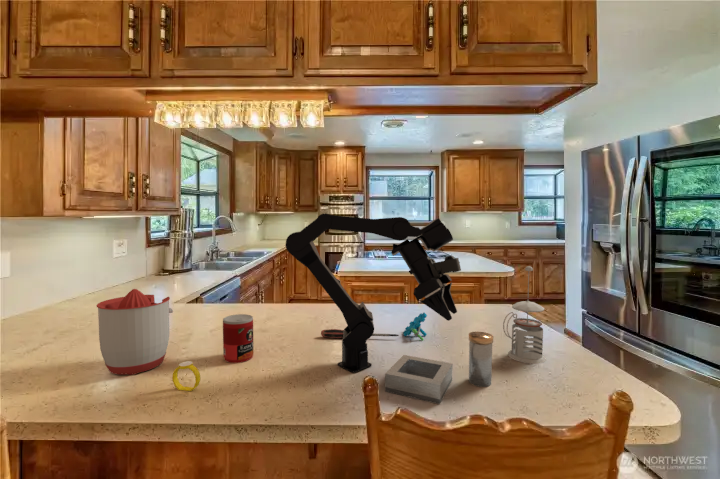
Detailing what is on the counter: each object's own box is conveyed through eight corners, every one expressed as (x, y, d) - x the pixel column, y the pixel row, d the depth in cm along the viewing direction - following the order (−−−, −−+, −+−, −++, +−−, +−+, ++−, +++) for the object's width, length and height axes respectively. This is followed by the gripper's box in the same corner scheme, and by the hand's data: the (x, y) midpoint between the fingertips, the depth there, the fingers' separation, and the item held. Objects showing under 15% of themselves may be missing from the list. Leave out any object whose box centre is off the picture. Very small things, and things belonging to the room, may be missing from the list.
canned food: (241, 365, 91) (240, 323, 91) (216, 360, 94) (215, 320, 93) (259, 354, 98) (259, 315, 98) (236, 350, 101) (235, 312, 101)
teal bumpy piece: (404, 324, 121) (425, 306, 118) (416, 337, 121) (437, 319, 118) (399, 339, 111) (422, 320, 107) (412, 353, 110) (435, 334, 107)
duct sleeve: (463, 381, 82) (464, 334, 82) (475, 374, 86) (476, 330, 85) (484, 389, 78) (485, 340, 78) (496, 382, 82) (497, 335, 81)
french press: (555, 362, 93) (558, 268, 92) (514, 365, 92) (517, 269, 90) (531, 349, 103) (533, 263, 102) (494, 351, 101) (496, 264, 100)
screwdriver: (398, 338, 112) (398, 329, 112) (399, 341, 110) (399, 332, 109) (321, 336, 114) (321, 327, 114) (320, 339, 112) (320, 330, 111)
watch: (170, 392, 77) (168, 366, 77) (179, 386, 80) (176, 361, 80) (195, 393, 76) (193, 366, 76) (203, 387, 79) (201, 360, 79)
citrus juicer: (190, 357, 96) (188, 284, 95) (125, 385, 80) (122, 297, 79) (151, 349, 102) (149, 280, 101) (84, 372, 86) (81, 291, 85)
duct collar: (385, 391, 77) (385, 373, 77) (403, 370, 88) (403, 354, 88) (439, 404, 72) (440, 384, 72) (452, 380, 83) (452, 363, 83)
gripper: (438, 243, 78) (479, 305, 74) (451, 244, 95) (484, 294, 91) (397, 269, 81) (435, 330, 78) (416, 265, 98) (447, 315, 95)
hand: (453, 316), depth 85 cm, fingers open, 9 cm apart
